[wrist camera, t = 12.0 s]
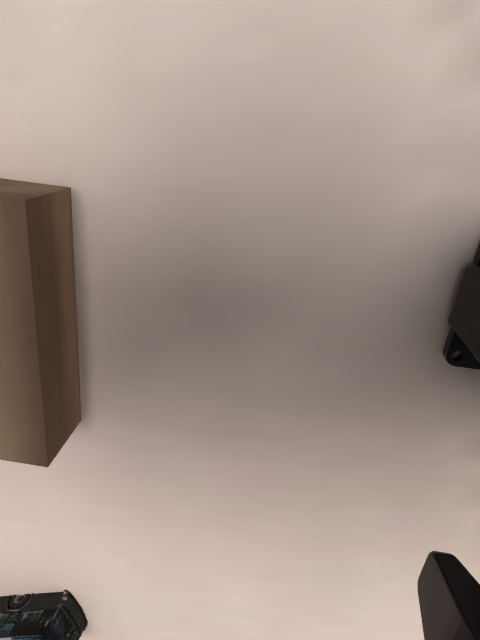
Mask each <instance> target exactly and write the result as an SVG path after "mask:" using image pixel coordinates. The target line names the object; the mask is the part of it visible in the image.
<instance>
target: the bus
mask: <svg viewBox="0 0 480 640" xmlns="http://www.w3.org/2000/svg"><path fill="white" fill-rule="evenodd" d="M87 623H88V622H87V619H86V616H85V614H84V612H83V610H82V608H81V606H80V605H79V603H78V602H77V600H76V599H75V598H74V596H73V595H72V594H71V593H70V592H69V591H68V590H64V592H55V593H40V594H34V593H32V595H31V594H25V595H22V596H21V595H13V596H11V595H10V596H3V597H0V640H79V638H80V637H81V634H82V632H83V631H84V630H85V628H86V626H87Z"/></svg>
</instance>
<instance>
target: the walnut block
mask: <svg viewBox="0 0 480 640" xmlns="http://www.w3.org/2000/svg"><path fill="white" fill-rule="evenodd" d="M80 421H81V405H80V383H79V361H78V339H77V317H76V296H75V274H74V252H73V230H72V208H71V188H69V187H61V186H54V185H46V184H39V183H31V182H23V181H16V180H8V179H1V178H0V459H1V460H7V461H13V462H19V463H25V464H31V465H38V466H44V467H48V466H49V465H50V463H51V462H52V461H53V459H54V458H55V456H56V455H57V454H58V452H59V451H60V449H61V448H62V447H63V445H64V444H65V442H66V441H67V439H68V438H69V437H70V435H71V434H72V432H73V431H74V430H75V428H76V427H77V425H78V424H79V422H80Z"/></svg>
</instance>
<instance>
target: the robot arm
mask: <svg viewBox="0 0 480 640" xmlns="http://www.w3.org/2000/svg"><path fill="white" fill-rule="evenodd" d="M448 323H449V325H450V326H451V329H450V332H449V335H448V338H447V341H446V344H445V347H444V350H443V355H444V358H445V359H446V361H447V362H448V363H449V364H450V365H453V366H459V367H465V368H472V369H479V370H480V245H479V248H478V251H477V254H476V257H475V260H474V263H473V264H471V265H470V266H469V267H467V268H466V270H465V273H464V276H463V279H462V282H461V285H460V288H459V291H458V294H457V297H456V300H455V303H454V306H453V309H452V312H451V315H450V318H449V321H448ZM456 351H461V353H460V354H459V355H458V356H456V357H452V354H453V353H454V352H456ZM418 596H419V603H420V610H421V617H422V625H423V632H424V639H425V640H480V584H479V583H478V582H477V581H476V580H475V579H474V577H473V576H472V575H471V574H470V573H469V572H468V571H467V569H466V568H465V567H464V566H463V565H462V564H461V562H460V561H459V560H458V559H457V558H456V557H455V556H454V555H452V554H449V553H443V552H437V551H432V552H430V553H429V555H428V557H427V559H426V561H425V564H424V566H423V569H422V571H421V573H420V576H419V579H418Z"/></svg>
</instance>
